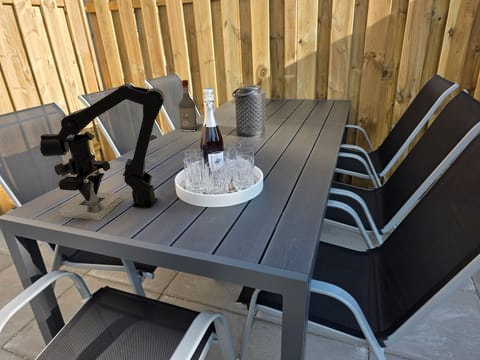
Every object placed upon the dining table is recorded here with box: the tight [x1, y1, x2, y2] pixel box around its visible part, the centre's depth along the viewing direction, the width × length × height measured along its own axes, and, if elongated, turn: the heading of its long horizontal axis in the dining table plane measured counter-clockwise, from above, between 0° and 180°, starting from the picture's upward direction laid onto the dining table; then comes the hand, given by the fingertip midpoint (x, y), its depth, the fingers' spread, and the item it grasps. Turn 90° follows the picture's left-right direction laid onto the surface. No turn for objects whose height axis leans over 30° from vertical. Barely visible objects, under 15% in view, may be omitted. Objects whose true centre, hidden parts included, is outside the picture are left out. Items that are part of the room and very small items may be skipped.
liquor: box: [178, 79, 198, 130], centre depth 194 cm, size 9×9×30 cm
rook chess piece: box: [85, 180, 100, 206], centre depth 106 cm, size 4×4×8 cm
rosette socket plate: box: [59, 191, 124, 221], centre depth 107 cm, size 14×14×2 cm
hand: (91, 198), depth 106 cm, fingers closed on rook chess piece, 3 cm apart
